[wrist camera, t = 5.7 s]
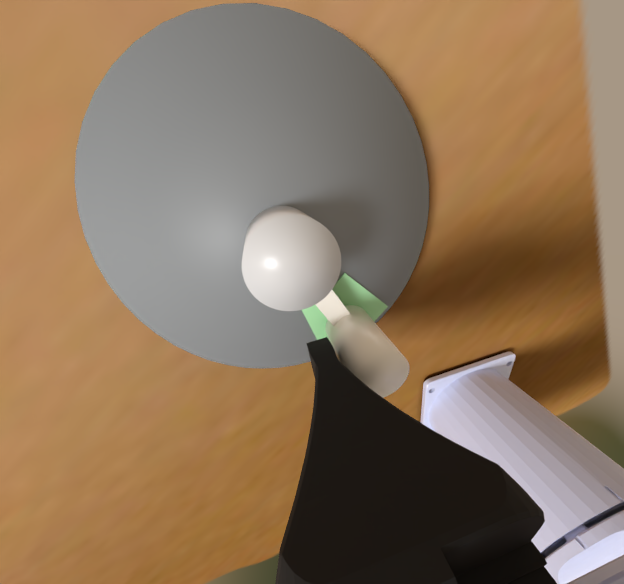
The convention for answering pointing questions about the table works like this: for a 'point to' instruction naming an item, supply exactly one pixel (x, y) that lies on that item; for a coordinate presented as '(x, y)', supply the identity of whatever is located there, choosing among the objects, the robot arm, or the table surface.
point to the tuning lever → (317, 292)
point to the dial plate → (246, 175)
